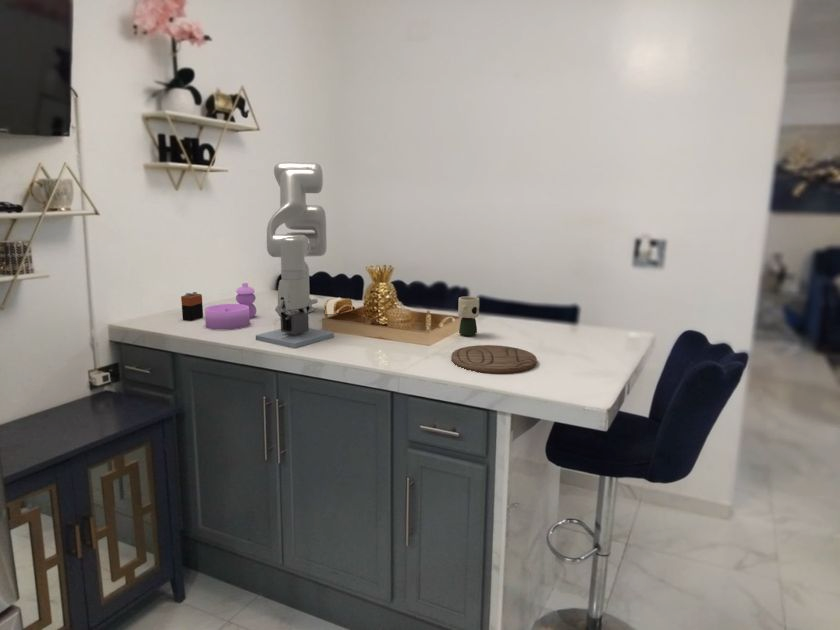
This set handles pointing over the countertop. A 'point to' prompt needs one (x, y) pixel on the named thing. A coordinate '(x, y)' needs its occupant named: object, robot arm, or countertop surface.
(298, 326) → the dark gray cube
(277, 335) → the hub panel
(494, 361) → the trivet
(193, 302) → the battery
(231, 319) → the container set
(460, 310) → the character mug
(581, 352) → the countertop surface
